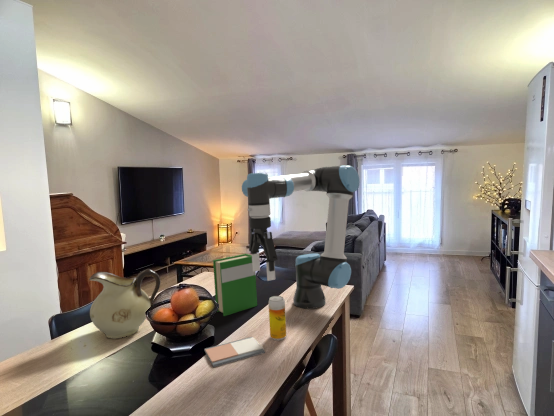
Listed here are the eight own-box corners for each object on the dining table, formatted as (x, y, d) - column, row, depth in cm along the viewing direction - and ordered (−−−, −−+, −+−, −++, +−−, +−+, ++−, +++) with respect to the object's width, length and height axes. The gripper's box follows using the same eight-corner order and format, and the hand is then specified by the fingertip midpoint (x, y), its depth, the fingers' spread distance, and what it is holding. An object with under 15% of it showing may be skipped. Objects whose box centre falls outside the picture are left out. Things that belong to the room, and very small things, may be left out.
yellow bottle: (284, 341, 125) (282, 301, 124) (268, 340, 126) (266, 301, 125) (287, 333, 131) (285, 295, 129) (272, 333, 132) (270, 295, 131)
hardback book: (224, 316, 151) (220, 262, 149) (216, 311, 157) (213, 260, 155) (257, 305, 161) (254, 255, 159) (248, 301, 167) (246, 253, 165)
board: (252, 338, 128) (251, 335, 128) (264, 352, 117) (264, 349, 117) (204, 351, 120) (204, 347, 120) (213, 367, 110) (213, 363, 110)
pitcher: (79, 338, 135) (73, 276, 133) (128, 316, 156) (124, 262, 154) (119, 349, 125) (114, 282, 123) (165, 323, 146) (162, 266, 144)
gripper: (238, 214, 131) (242, 269, 133) (263, 221, 108) (268, 286, 110) (256, 212, 134) (259, 265, 136) (285, 218, 111) (288, 282, 113)
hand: (263, 275), depth 123 cm, fingers open, 13 cm apart
